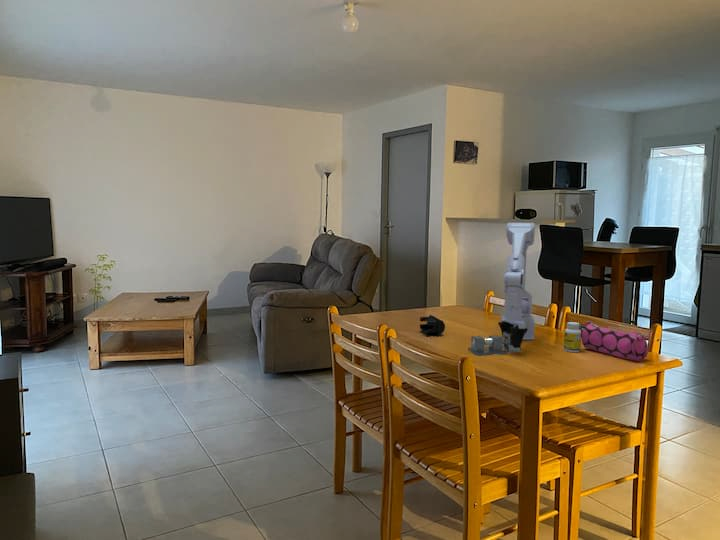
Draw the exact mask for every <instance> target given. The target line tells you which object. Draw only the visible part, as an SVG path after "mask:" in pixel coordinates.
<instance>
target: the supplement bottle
mask: <svg viewBox="0 0 720 540" xmlns="http://www.w3.org/2000/svg"><path fill="white" fill-rule="evenodd" d="M580 326H581V325H580V323H579V322H576V321H575V322H574V321H569V322H566V327H567V328H565V329H564V340H563V341H564V342H563V350H564V351H565V352H570V353H580V352H581V349H582V348H581V347H582V346H581V345H582V338H581V332H582V330H581V329H580Z"/></svg>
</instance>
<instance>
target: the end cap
mask: <svg viewBox="0 0 720 540" xmlns="http://www.w3.org/2000/svg"><path fill="white" fill-rule="evenodd" d="M419 322H426V323H424V324H419V329H420V333H421V334H422V333H423V334H422V335H424V336H425V335H426V337H427V338H428V337H430V338H431V336H433V337H439V336H440V335H442V334H443V333H444V332H445V331H446V324H445V322H444V321H443V320H442V319H440V318H438V317H436V316H434V315H432V314H429V316H420V318H419Z"/></svg>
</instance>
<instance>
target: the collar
mask: <svg viewBox="0 0 720 540" xmlns="http://www.w3.org/2000/svg"><path fill="white" fill-rule="evenodd" d="M504 337H508V344H502V350H503V349H504V350H505V351H507V353H508V352H509V353H508V354H516V353H515V352H520V353H521V347H520V348H514V347H513V337H512V333H511V331H506V332H503V336H502V338H504Z"/></svg>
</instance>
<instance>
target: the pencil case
mask: <svg viewBox="0 0 720 540" xmlns="http://www.w3.org/2000/svg"><path fill="white" fill-rule="evenodd" d="M585 324H586V326H584V328H583V329H582V331H581V345H583V347H584V348H585V349H588V350H590V351H595V352H597V353H598V352H599V353H603V354H608V355H611V356H614V357H619V358H621V359H625V360H630V361H631V360H632V361H636V362H643V361H644V360H645V359H646V358H647V356H648V353H649V347H648V342H647V339H646V336H644V335H643V334H641V333H637V332H626V331H619V330H615V329H612V328H607V327H600V326H598V325H597V324H595V323H594V322H592V321H591V320H588V321H586V322H585Z"/></svg>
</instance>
